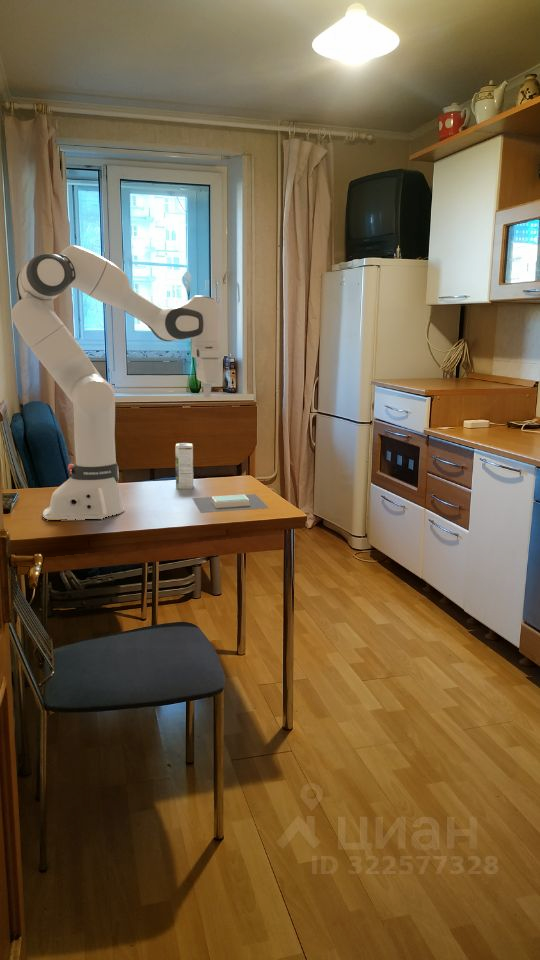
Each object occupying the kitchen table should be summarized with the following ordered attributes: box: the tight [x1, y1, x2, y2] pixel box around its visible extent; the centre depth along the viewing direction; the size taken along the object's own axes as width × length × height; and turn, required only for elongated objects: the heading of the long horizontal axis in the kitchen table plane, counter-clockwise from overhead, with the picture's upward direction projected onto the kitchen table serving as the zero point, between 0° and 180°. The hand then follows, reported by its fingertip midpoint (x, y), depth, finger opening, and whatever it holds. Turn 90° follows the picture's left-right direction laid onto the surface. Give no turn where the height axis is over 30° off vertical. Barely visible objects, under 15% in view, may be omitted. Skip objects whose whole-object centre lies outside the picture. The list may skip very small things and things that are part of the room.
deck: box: [211, 494, 249, 508], centre depth 203 cm, size 10×2×7 cm
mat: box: [192, 493, 270, 514], centre depth 205 cm, size 20×18×1 cm
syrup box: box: [174, 442, 194, 490], centre depth 227 cm, size 6×6×14 cm
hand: (207, 397), depth 210 cm, fingers closed
